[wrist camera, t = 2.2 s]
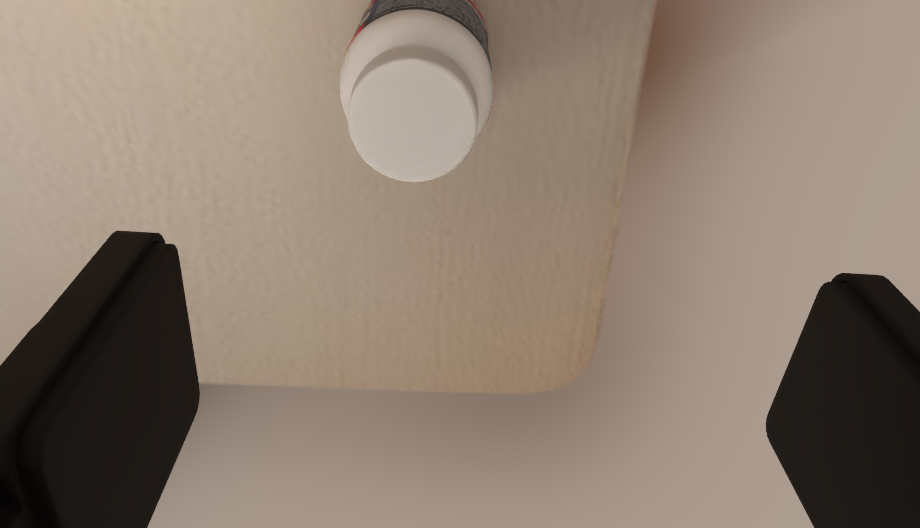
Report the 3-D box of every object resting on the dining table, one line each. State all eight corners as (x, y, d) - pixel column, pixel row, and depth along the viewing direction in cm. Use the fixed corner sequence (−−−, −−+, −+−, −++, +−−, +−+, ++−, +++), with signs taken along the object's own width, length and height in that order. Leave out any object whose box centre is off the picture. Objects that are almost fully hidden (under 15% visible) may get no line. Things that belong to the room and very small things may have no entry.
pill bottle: (355, -26, 27) (316, 30, 20) (489, -25, 27) (502, 33, 20) (363, 105, 30) (332, 199, 23) (485, 107, 30) (495, 201, 23)
